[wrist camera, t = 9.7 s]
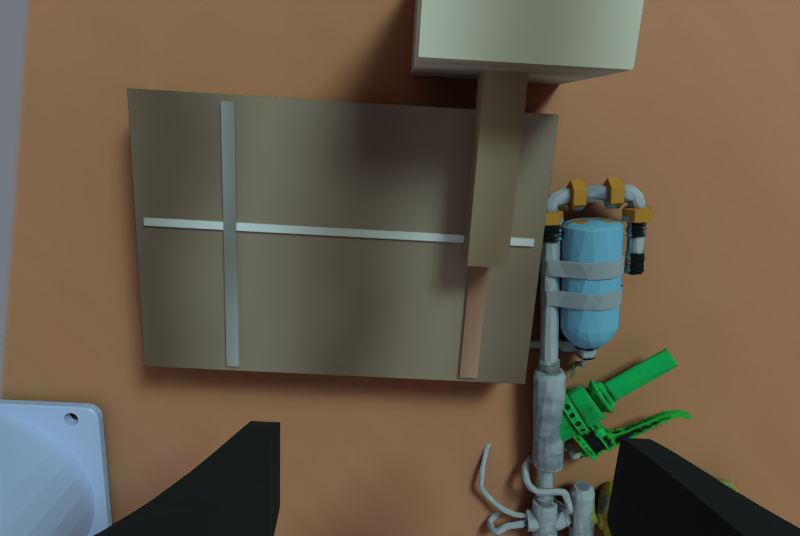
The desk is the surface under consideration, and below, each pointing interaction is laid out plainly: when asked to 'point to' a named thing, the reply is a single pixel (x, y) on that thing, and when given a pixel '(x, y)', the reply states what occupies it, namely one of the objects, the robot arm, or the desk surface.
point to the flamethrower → (582, 355)
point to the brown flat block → (327, 238)
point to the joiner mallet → (514, 83)
